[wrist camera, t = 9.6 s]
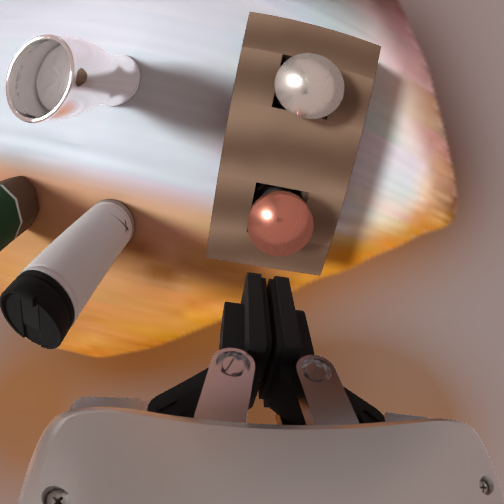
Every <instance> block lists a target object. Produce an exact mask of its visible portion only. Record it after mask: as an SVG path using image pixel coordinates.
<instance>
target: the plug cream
mask: <svg viewBox="0 0 504 504" xmlns="http://www.w3.org/2000/svg"><path fill="white" fill-rule="evenodd" d="M274 89H275V93H276V96H277V99H278V100H279V102H280V104H281V105H282V106H283V107H284V108H285V109H286V110H287V111H289V112H290V113H292V114H294V115H296V116H298V117H301V118H306V119H318V118H322V117H325V116H327V115H329V114H331V113H332V112H333V111H334V110H336V108H337V107H338V106H339V104H340V103H341V101H342V99H343V95H344V80H343V77H342V74H341V72H340V71H339V69H338V68H337V66H336V65H335V64H334V63H333V62H332V61H330V60H329V59H327V58H326V57H324V56H321V55H318V54H314V53H302V54H298V55H295V56H293V57H291V58H289V59H288V60H287V61H286V62H284V63H283V64H282V66H281V67H280V68H279V70H278V71H277V74H276V76H275V81H274Z"/></svg>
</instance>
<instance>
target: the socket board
mask: <svg viewBox="0 0 504 504" xmlns="http://www.w3.org/2000/svg"><path fill="white" fill-rule="evenodd" d="M380 49H381V46H379V45H376V44H373V43H370V42H368V41H365V40H362V39H359V38H356V37H353V36H350V35H347V34H344V33H340V32H337V31H334V30H330V29H327V28H323V27H320V26H316V25H312V24H308V23H304V22H300V21H296V20H291V19H287V18H282V17H277V16H272V15H266V14H261V13H255V12H250V13H249V17H248V22H247V26H246V31H245V35H244V40H243V45H242V49H241V54H240V59H239V64H238V69H237V74H236V79H235V84H234V89H233V94H232V99H231V105H230V110H229V115H228V121H227V126H226V132H225V137H224V143H223V149H222V155H221V161H220V167H219V173H218V179H217V185H216V192H215V198H214V204H213V211H212V218H211V225H210V231H209V238H208V246H207V253H206V258H211V259H217V260H223V261H229V262H235V263H242V264H248V265H254V266H261V267H267V268H274V269H280V270H286V271H293V272H299V273H306V274H313V275H319V276H320V275H321V272H322V269H323V266H324V263H325V260H326V256H327V253H328V250H329V247H330V244H331V241H332V238H333V234H334V231H335V228H336V225H337V221H338V218H339V215H340V211H341V208H342V205H343V201H344V198H345V194H346V191H347V187H348V184H349V180H350V176H351V173H352V169H353V165H354V162H355V158H356V154H357V150H358V146H359V143H360V139H361V135H362V131H363V127H364V122H365V118H366V114H367V110H368V106H369V101H370V97H371V92H372V88H373V83H374V79H375V74H376V69H377V64H378V59H379V54H380ZM302 53H314V54H318V55H321V56H324V57H326V58H327V59H329V60H330V61H332V62H333V63H334V64H335V65H336V66H337V68H338V69H339V71H340V72H341V74H342V77H343V80H344V95H343V99H342V101H341V103H340V104H339V106H338V107H337V108H336V110H334V111H333V112H332V113H331V114H329V115H327V116H325V117H322V118H318V119H306V118H301V117H298V116H296V115H294V114H292V113H290V112H289V111H287V110H286V109H281V108H276V107H272V103H273V98H274V93H275V89H274V81H275V76H276V74H277V71H278V70H279V68H280V64H281V63H284V62H286V61H287V60H288V59H289V58H291V57H293V56H295V55H298V54H302ZM256 182H257V183H263V184H268V185H274V186H279V187H284V188H289V189H294V190H296V194H295V195H297V196H299V197H300V198H301V199H302V200H303V201H304V202H305V203H306V204H307V206H308V208H309V210H310V212H311V214H312V217H313V223H314V226H313V233H312V235H311V238H310V240H309V241H308V243H307V244H306V245H305V246H304V247H303V248H302V249H300V250H299V251H297V252H295V253H293V254H291V255H287V256H272V255H268V254H266V253H264V252H262V251H260V250H259V249H258V248H256V247H255V245H254V244H253V243H252V241H251V239H250V237H249V234H248V229H247V220H248V214H249V211H250V209H251V206H252V201H253V196H254V191H255V186H256Z"/></svg>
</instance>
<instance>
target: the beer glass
mask: <svg viewBox="0 0 504 504" xmlns="http://www.w3.org/2000/svg"><path fill="white" fill-rule="evenodd" d="M139 82H140V71H139V68H138V65H137V64H136V62H135V61H134V60H133V59H132V58H130V57H129V56H127V55H123V54H113V55H111V54H109V53H108V52H107V51H106V50H104V49H103V48H102V47H100V46H98V45H96V44H95V43H93V42H90V41H87V40H84V39H81V38H76V37H70V36H55V35H42V36H38V37H36V38H34V39H32V40H30V41H29V42H28V43H26V44H25V45H24V46H23V47H22V48H21V49H20V50H19V52H18V53H17V54H16V56H15V57H14V59H13V61H12V63H11V65H10V68H9V71H8V74H7V79H6V96H7V101H8V104H9V106H10V108H11V110H12V112H13V113H14V114H15V115H16V116H17V117H18V118H19V119H21V120H23V121H25V122H29V123H37V122H42V121H54V120H62V119H67V118H71V117H75V116H79V115H81V114H83V113H86V112H88V111H90V110H92V109H94V108H96V107H98V106H99V105H101V104H103V105H107V106H118V105H121V104H123V103H125V102H126V101H128V100H129V99H130V98H131V97H132V96H133V95H134V94H135V92H136V90H137V88H138V86H139Z"/></svg>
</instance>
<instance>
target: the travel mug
mask: <svg viewBox="0 0 504 504" xmlns="http://www.w3.org/2000/svg"><path fill="white" fill-rule="evenodd" d="M134 228H135V227H134V219H133V217H132V214H131V212H130V211H129V209H128V208H127V207H126V206H125V205H123V204H122V203H120V202H118V201H116V200H112V199H106V200H102V201H99V202H98V203H96V204H95V205H94V206H93V207H92V208H90V209H89V210H88V211H87V212H86V213H84V214H83V215H82V216H81V217H80V218H79V219H77V220H76V221H75V222H74V223H73V224H72V225H71V226H69V227H68V228H67V229H66V230H65V231H64V232H63V233H62V234H60V235H59V236H58V237H57V238H56V239H55V240H54V241H53V242H52V243H51V244H50V245H48V246H47V247H46V248H45V249H44V250H43V251H42V252H41V253H40V254H39V255H38V256H37V257H36V258H35V259H34V260H33V261H32V262H31V263H30V264H29V265H28V266H27V267H26V268H25V269H24V270H23V271H22V272H21V273H20V274H19V276H18V277H17V278H16V279H15V280H14V281H13V282H12V283H11V284H10V285H9V286H8V287H7V289H6V290H5V291H4V292H3V293H2V294H1V296H0V307H1V311H2V313H3V315H4V317H5V319H6V320H7V321H8V323H9V324H10V326H11V327H12V328H13V329H14V330H15V331H16V332H17V333H18V334H20V335H21V336H22V337H23V338H24V337H27V338H28V339H29V340H31V341H32V342H34V343H36V344H39V345H41V347H43V348H47V349H54V348H57V347H58V346H59V345H60V344H61V342H62V341H63V339H64V337H65V336H66V334H67V332H68V330H69V329H70V327H71V326H72V325H73V324H74V322H75V320H76V319H77V317H78V316H79V314H80V312H81V311H82V309H83V308H84V306H85V305H86V303H87V301H88V300H89V298H90V297H91V295H92V294H93V292H94V291H95V289H96V288H97V286H98V285H99V283H100V282H101V280H102V279H103V277H104V276H105V274H106V273H107V271H108V270H109V269H110V267H111V266H112V264H113V263H114V261H115V260H116V258H117V257H118V256H119V254H120V253H121V251H122V250H123V249H124V247H125V246H126V244H127V243H128V242H129V240H130V239H131V237H132V236H133V233H134Z"/></svg>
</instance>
